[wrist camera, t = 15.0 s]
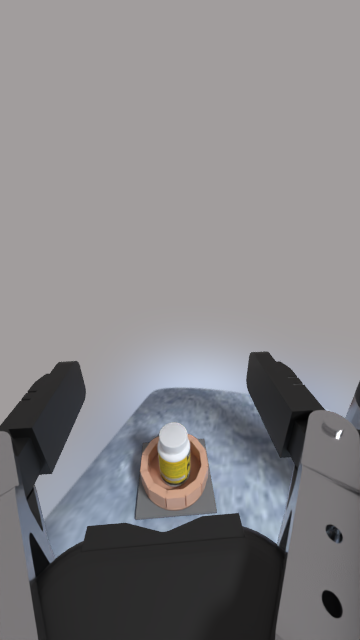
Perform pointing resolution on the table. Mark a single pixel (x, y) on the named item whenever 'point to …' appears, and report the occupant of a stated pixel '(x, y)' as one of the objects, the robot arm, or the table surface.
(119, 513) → the table surface
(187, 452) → the supplement bottle
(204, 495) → the mat
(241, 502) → the table surface
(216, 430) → the table surface
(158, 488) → the bowl
